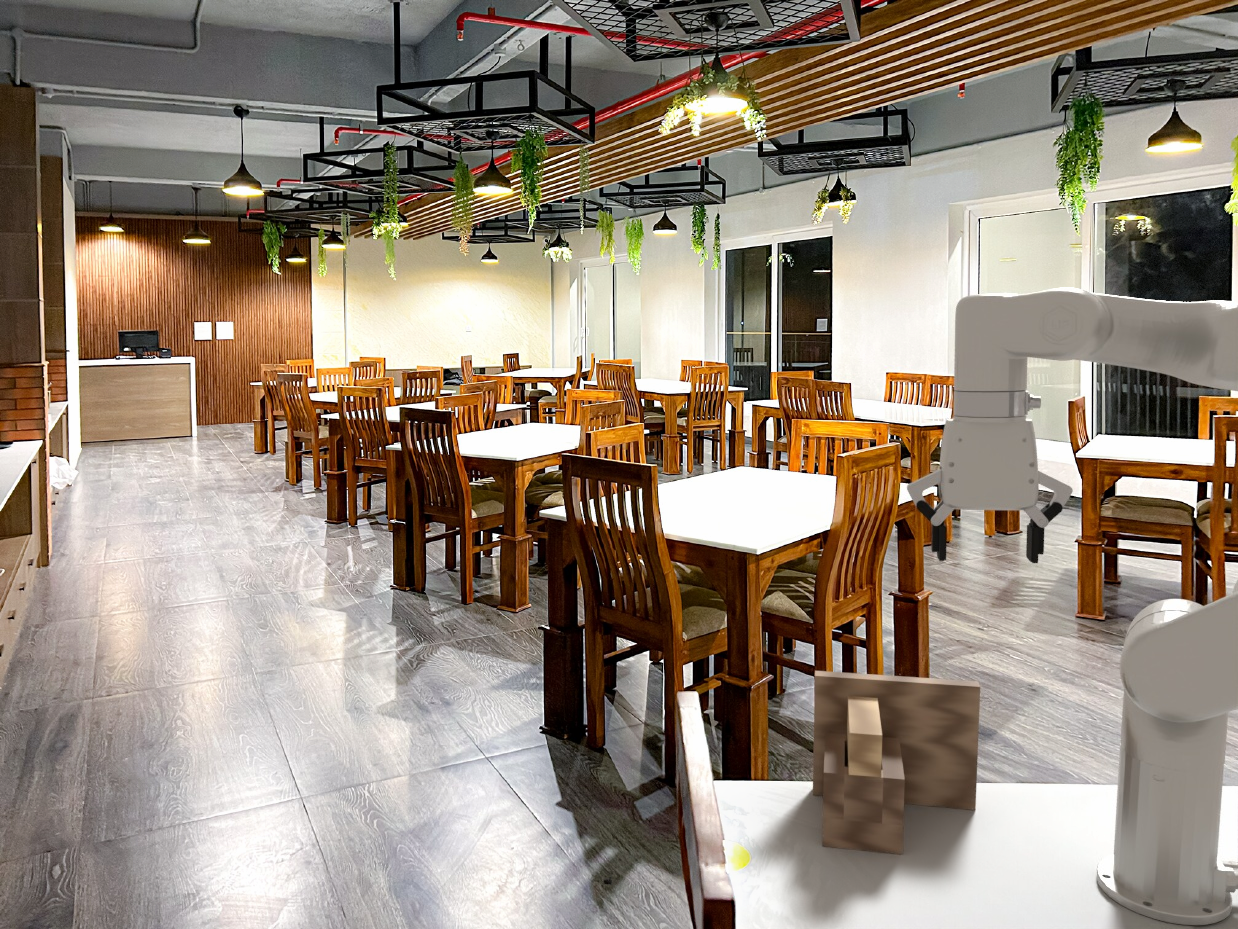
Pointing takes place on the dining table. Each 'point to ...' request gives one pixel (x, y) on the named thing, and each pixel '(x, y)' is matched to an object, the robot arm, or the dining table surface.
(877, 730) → the tan grey block
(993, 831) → the dining table surface
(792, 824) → the dining table surface
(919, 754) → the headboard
